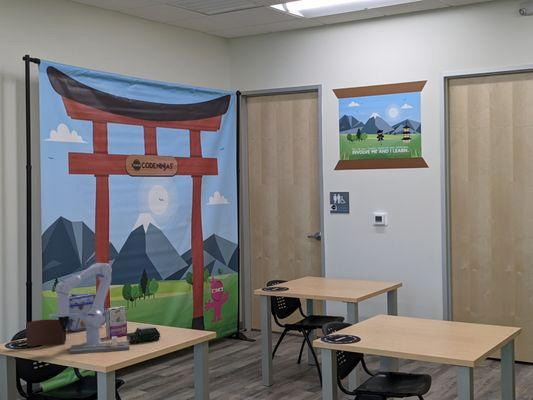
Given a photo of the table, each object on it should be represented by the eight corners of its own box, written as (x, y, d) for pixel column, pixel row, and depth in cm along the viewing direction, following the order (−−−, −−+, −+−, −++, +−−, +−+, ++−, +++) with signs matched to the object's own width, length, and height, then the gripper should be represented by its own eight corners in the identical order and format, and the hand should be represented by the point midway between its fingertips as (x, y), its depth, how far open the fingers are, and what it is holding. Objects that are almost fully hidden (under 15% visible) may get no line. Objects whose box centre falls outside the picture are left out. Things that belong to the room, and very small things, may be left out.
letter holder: (64, 344, 386) (63, 318, 386) (26, 347, 382) (25, 321, 382) (66, 340, 396) (65, 315, 396) (29, 343, 392) (28, 317, 392)
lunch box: (66, 334, 414) (65, 296, 414) (58, 331, 422) (56, 294, 422) (108, 326, 433) (106, 290, 432) (99, 324, 440) (98, 289, 440)
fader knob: (112, 344, 373) (111, 336, 373) (116, 343, 373) (116, 336, 373) (112, 345, 368) (111, 338, 368) (116, 345, 369) (116, 337, 369)
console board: (71, 348, 375) (71, 345, 375) (129, 344, 381) (129, 341, 381) (69, 354, 362) (69, 350, 362) (129, 349, 367) (129, 346, 367)
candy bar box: (123, 334, 409) (122, 305, 409) (127, 335, 405) (126, 306, 405) (105, 337, 402) (104, 308, 401) (110, 338, 398) (109, 309, 398)
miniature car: (125, 342, 388) (124, 327, 388) (156, 337, 397) (156, 323, 396) (130, 344, 380) (129, 330, 380) (162, 340, 389) (161, 326, 389)
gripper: (48, 307, 365) (49, 333, 365) (77, 305, 368) (78, 331, 368) (49, 305, 372) (50, 331, 372) (78, 303, 375) (79, 329, 375)
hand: (64, 331), depth 371 cm, fingers closed
